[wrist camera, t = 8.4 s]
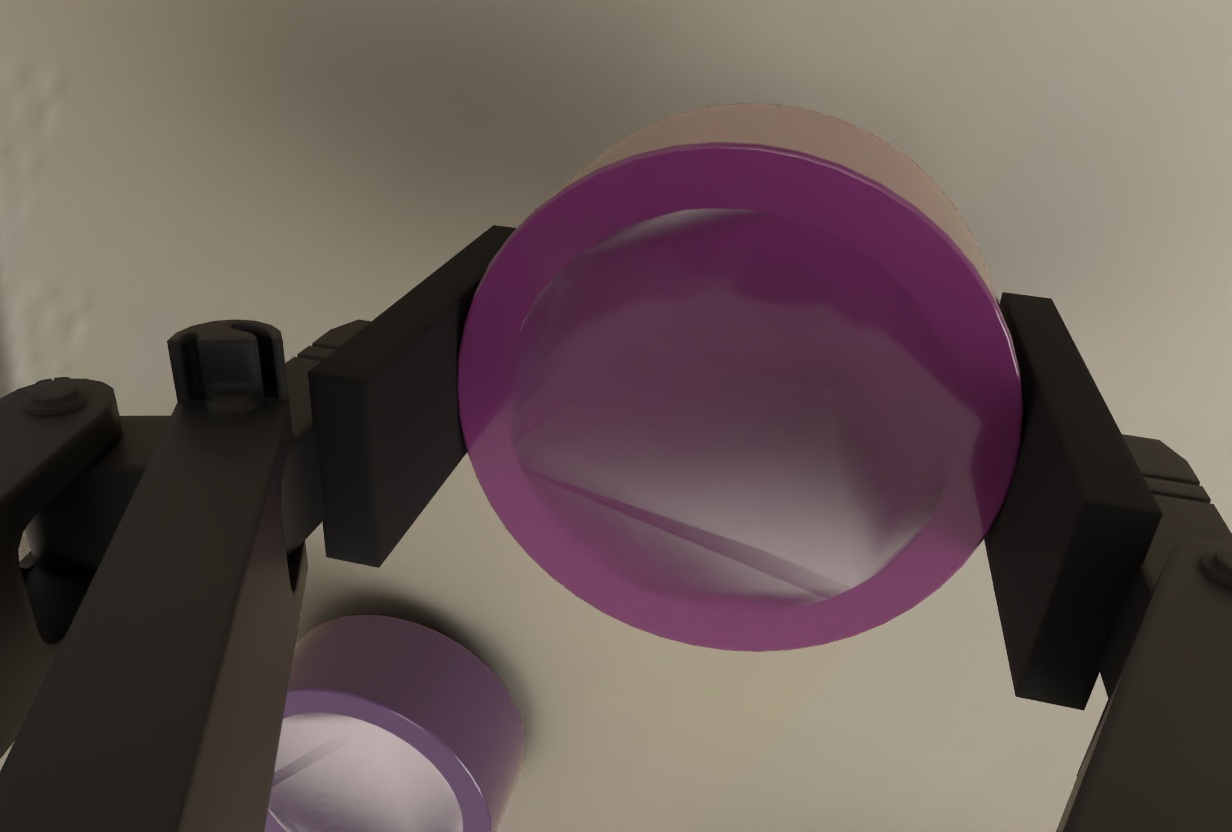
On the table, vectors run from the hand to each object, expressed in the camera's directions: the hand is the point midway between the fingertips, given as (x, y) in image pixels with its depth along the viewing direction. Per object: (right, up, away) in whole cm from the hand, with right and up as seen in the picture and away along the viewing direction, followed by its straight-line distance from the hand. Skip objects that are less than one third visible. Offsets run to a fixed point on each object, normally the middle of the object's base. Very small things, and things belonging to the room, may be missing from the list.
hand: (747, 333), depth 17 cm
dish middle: (-9, -10, +13) cm, 19 cm away
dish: (0, 0, 0) cm, 0 cm away
